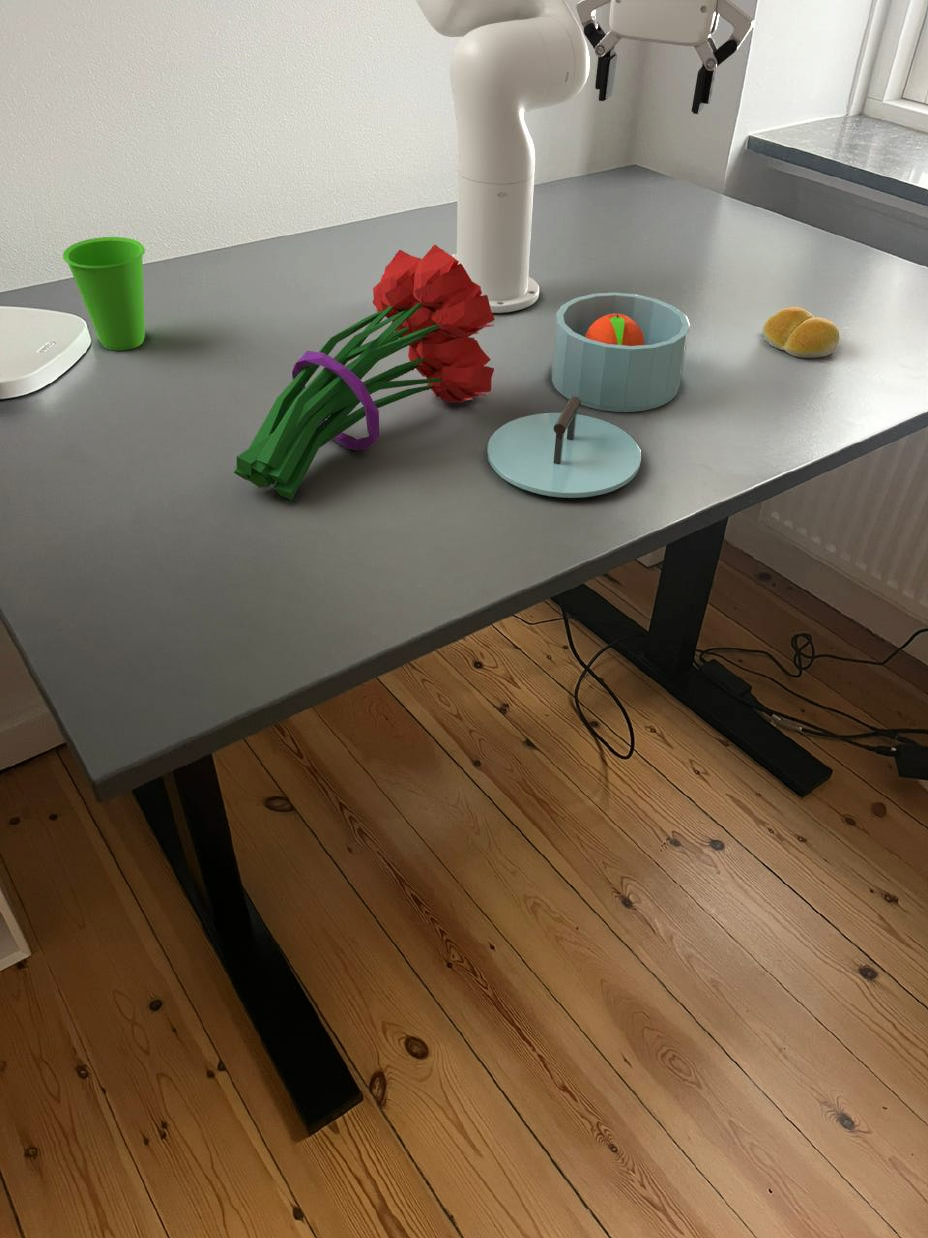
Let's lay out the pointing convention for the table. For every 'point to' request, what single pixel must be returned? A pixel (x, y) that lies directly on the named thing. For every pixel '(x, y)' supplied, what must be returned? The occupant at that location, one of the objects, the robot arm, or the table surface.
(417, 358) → the bouquet
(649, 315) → the pot
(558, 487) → the lid
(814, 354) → the bread roll
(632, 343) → the clementine
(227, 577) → the table surface
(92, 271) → the cup
